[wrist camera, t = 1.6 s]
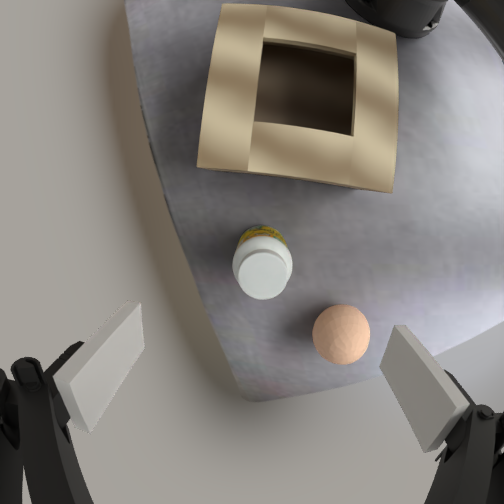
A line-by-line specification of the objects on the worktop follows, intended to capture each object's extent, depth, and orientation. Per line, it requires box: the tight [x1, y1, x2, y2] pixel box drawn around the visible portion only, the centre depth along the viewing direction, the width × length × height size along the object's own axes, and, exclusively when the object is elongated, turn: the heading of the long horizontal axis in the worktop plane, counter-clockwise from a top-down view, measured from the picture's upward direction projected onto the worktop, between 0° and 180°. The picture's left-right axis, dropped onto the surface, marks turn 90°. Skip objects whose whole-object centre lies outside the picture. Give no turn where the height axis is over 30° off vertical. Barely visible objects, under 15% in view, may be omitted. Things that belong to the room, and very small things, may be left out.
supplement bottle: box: [232, 225, 292, 300], centre depth 26 cm, size 5×5×10 cm
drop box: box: [197, 4, 399, 193], centre depth 23 cm, size 16×16×9 cm
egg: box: [312, 304, 370, 365], centre depth 29 cm, size 7×7×8 cm
